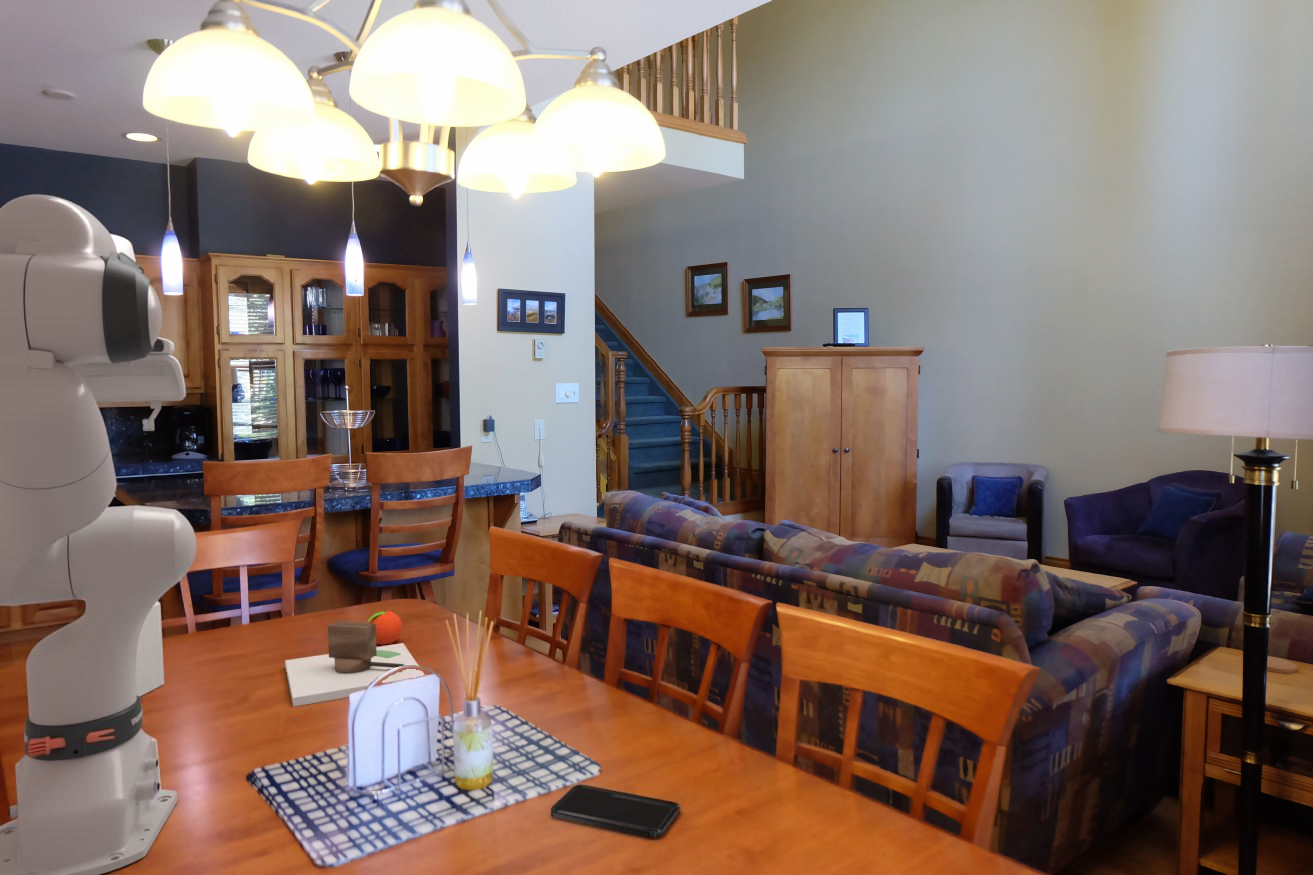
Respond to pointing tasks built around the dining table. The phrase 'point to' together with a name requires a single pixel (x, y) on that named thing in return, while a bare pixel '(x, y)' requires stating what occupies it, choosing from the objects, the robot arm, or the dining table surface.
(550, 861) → the dining table surface
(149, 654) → the milk carton
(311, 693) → the dial plate
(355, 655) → the tuning knob
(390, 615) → the clementine
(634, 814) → the phone
